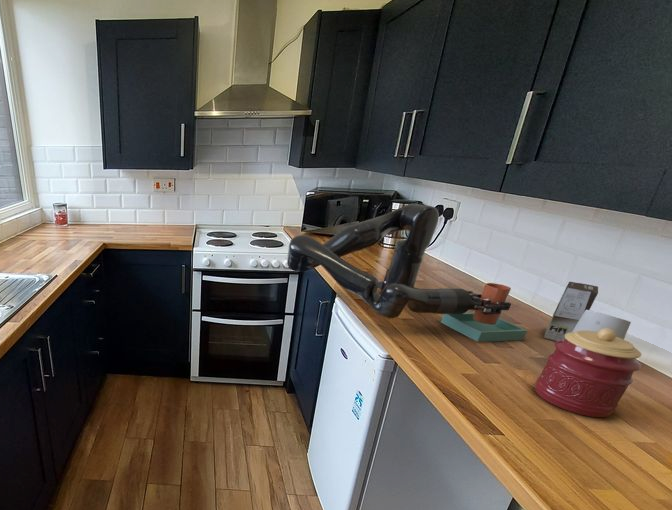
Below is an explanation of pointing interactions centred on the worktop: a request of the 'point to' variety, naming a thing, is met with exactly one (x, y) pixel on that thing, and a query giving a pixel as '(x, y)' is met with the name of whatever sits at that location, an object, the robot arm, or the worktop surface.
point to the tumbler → (495, 295)
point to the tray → (483, 328)
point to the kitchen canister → (588, 372)
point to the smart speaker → (602, 323)
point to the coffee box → (570, 309)
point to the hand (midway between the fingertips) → (499, 302)
